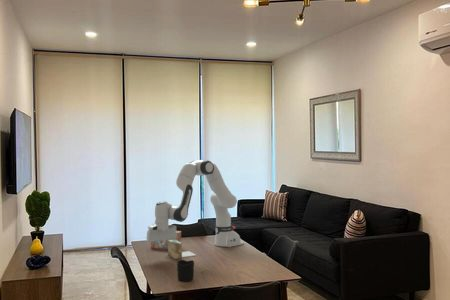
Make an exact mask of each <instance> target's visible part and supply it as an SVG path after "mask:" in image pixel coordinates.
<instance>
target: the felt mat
mask: <svg viewBox="0 0 450 300" xmlns="http://www.w3.org/2000/svg"><path fill="white" fill-rule="evenodd" d="M196 256H197V254H195V253H193V252H191V251H190V250H187V251H182V258H191V257H196ZM182 258H181V259H182Z"/></svg>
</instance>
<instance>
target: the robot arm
mask: <svg viewBox="0 0 450 300" xmlns="http://www.w3.org/2000/svg"><path fill="white" fill-rule="evenodd" d="M196 176H200V177H201V176H205V178H206V181H207V183H208V186H209V188H210V190H211V191H212V192H213V193H212V194H211V195H210V203H211V205H212V206H213V209H214V212H215V213H214V214H215V238H214V241H213V242H214V243H213V245H214V246H217V247H227V248H231V247H236V246H240V245H244V243H245V242H244V241H242V240H241V237H240V236H241V235H239V233H237V232H236V231H234V230H235V229H236V226H234V225H232V224H231V223H232V215H231V214H230V211H229V210H228V209H232V208H234V207H236V205H237V203H238V199H237V197H236V196H235V195H234V194H233V193H232V192H231V190H230V189H229V188H228V187H227V184H226V183H225V181H224V179H223V177H222V174H221V171H220V170H219V168H218V166H217V165H216V163H213V162H212V161H210V160H209V159H199V160H192V161H190V162H187V163H184V165H183V166H182V167H181V169H180V171H179V173H178V175H177V178H176V187H177V188H178V189H179V190H181V191H182V197H181V200H180V204H179V205H173V204H172V203H168V201H166V200H161V201H158V202H156V203H155V208H154V217H155V220H154V223H152V224H150V225H148V226H147V229H148V230H147V231H146V241H147V242H149V243H151V242H152V241H158V243H159V246H160V247H164V244H165V243H166V240H169V239H176V237H177V233H176V231H177V225H174V224H169V220H173V221H176V222H180V223H182V222H184V221H185V220H187V218H188V216H189V207H190V204H191V200H192V196H193V183H194V180H195V177H196ZM161 240H163V241H164V242H163V244H161V243H160V242H161Z"/></svg>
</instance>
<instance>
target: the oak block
mask: <svg viewBox="0 0 450 300" xmlns="http://www.w3.org/2000/svg"><path fill="white" fill-rule="evenodd" d="M182 252H183V243H182V241H181V242H179V241H177V240H168V249H167V253H168V254H167V255H168V256H169V257H172V259H175V260H176V259H182Z"/></svg>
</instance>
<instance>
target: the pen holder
mask: <svg viewBox="0 0 450 300" xmlns="http://www.w3.org/2000/svg"><path fill="white" fill-rule="evenodd" d="M176 265H177V266H176V269H177V280H178V281H179V282H183V283H187V282H188V283H189V282H192V281H193V280H194V277H195V275H194V274H195V261H194V260H192V259H191V260H188V261H187V260H184V259H183V260H182V259H180V260H179V259H178V261H177V262H176Z"/></svg>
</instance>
